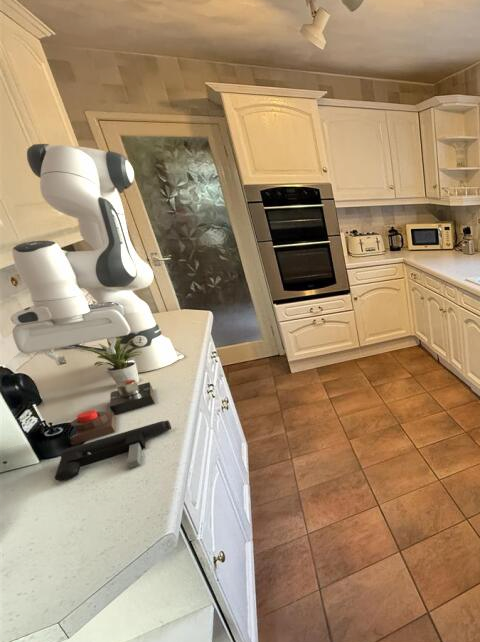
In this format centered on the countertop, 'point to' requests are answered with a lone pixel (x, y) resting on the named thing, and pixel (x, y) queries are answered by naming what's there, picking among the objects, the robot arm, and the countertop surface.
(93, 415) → the power button
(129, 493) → the countertop surface
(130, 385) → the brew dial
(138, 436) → the black gun
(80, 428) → the power base
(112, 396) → the dial panel
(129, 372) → the house plant
